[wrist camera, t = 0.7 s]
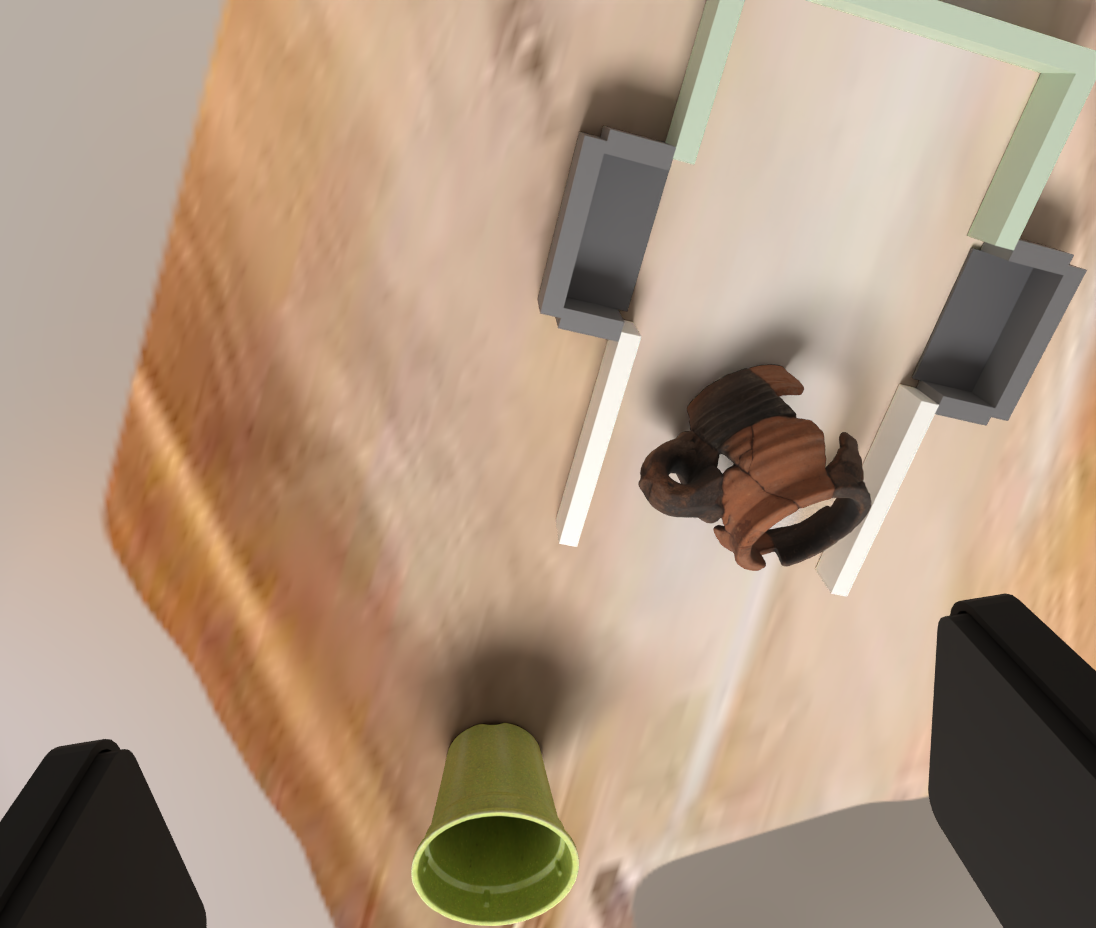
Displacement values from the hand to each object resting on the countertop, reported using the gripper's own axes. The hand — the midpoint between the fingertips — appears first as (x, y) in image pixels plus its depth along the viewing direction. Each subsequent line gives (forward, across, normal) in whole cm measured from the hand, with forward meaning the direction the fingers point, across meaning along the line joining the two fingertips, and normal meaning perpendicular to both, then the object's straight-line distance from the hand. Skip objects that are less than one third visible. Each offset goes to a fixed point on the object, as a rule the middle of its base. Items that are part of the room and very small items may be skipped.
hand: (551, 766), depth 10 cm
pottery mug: (+34, -11, +12) cm, 37 cm away
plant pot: (+34, +6, +31) cm, 47 cm away
